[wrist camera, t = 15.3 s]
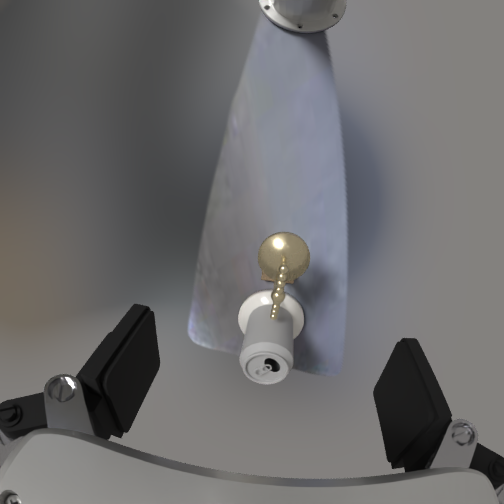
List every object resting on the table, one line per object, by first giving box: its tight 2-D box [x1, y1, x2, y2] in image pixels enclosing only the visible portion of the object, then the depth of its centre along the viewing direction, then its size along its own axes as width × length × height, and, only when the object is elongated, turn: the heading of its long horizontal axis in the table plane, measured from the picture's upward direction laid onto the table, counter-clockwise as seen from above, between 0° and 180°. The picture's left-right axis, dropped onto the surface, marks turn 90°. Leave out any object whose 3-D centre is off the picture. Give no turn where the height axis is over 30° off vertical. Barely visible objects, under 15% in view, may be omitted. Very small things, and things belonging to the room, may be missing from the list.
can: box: [240, 304, 293, 384], centre depth 42 cm, size 8×8×12 cm
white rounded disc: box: [238, 289, 304, 339], centre depth 48 cm, size 11×11×1 cm
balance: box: [258, 232, 310, 320], centre depth 38 cm, size 14×6×14 cm, turn 174°
